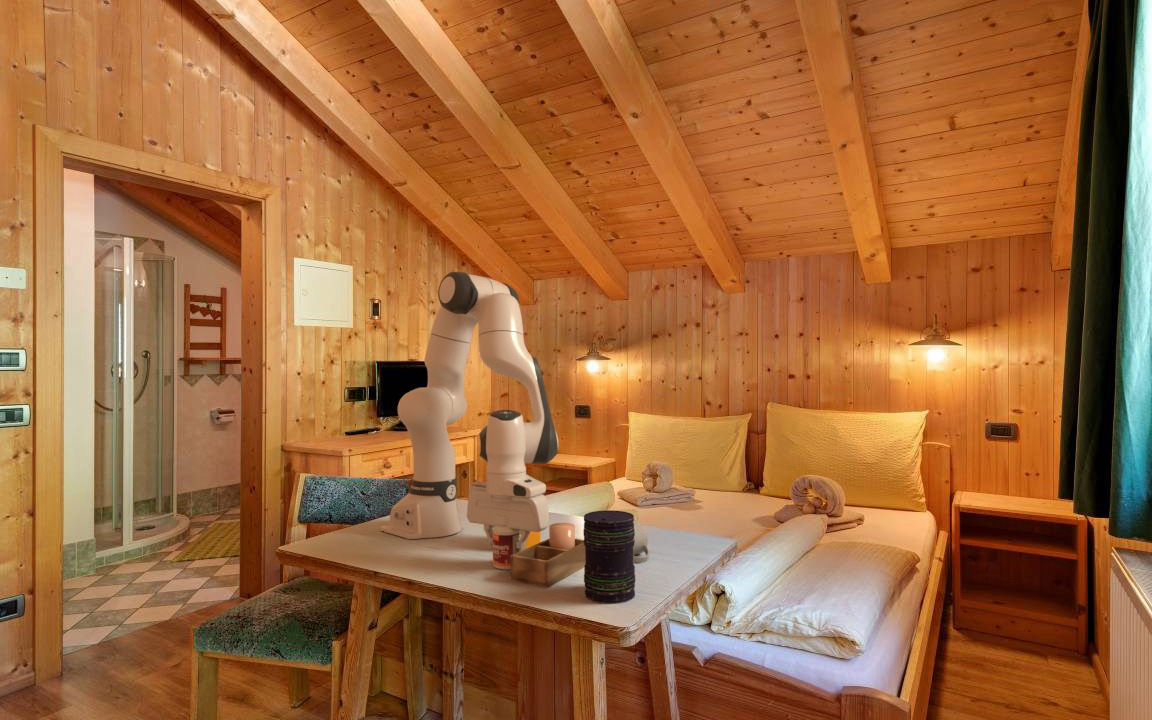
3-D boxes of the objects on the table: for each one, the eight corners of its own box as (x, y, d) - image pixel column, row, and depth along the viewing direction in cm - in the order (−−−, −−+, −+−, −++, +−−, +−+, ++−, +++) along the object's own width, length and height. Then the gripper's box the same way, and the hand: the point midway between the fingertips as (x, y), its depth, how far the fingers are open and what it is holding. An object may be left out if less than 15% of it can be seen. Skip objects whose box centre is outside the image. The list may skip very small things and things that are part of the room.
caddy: (510, 580, 128) (510, 555, 128) (555, 557, 143) (555, 535, 143) (548, 587, 123) (547, 562, 123) (590, 563, 138) (590, 540, 138)
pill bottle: (487, 568, 136) (487, 516, 136) (501, 560, 141) (501, 510, 142) (512, 571, 133) (511, 518, 133) (525, 563, 139) (525, 512, 139)
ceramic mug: (600, 555, 144) (600, 522, 144) (625, 549, 149) (625, 516, 149) (632, 567, 136) (632, 532, 136) (658, 559, 141) (658, 525, 141)
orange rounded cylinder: (544, 564, 136) (544, 527, 136) (558, 557, 140) (557, 521, 141) (566, 567, 133) (566, 530, 133) (579, 560, 138) (579, 524, 138)
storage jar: (595, 583, 125) (594, 508, 126) (641, 589, 122) (640, 512, 122) (576, 599, 116) (575, 519, 116) (626, 607, 112) (625, 524, 113)
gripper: (460, 482, 140) (461, 544, 140) (536, 490, 130) (536, 557, 130) (478, 478, 146) (478, 537, 145) (552, 485, 135) (553, 549, 135)
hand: (506, 546), depth 137 cm, fingers closed on pill bottle, 6 cm apart
